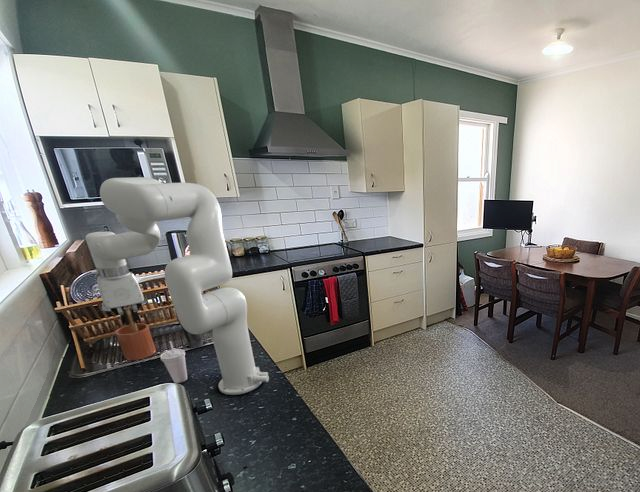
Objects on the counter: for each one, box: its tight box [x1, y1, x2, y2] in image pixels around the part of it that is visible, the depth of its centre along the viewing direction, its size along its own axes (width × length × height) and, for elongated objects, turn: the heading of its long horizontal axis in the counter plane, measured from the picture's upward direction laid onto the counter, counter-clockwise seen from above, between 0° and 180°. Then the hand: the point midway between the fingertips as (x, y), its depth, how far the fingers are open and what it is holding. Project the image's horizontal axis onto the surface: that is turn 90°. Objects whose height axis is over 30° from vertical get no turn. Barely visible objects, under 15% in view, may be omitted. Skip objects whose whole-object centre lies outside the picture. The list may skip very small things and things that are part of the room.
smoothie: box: [159, 340, 188, 384], centre depth 108 cm, size 6×6×14 cm
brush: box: [123, 306, 139, 333], centre depth 120 cm, size 5×5×16 cm
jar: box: [114, 322, 157, 361], centre depth 122 cm, size 9×9×10 cm
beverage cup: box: [176, 316, 204, 348], centre depth 127 cm, size 7×7×20 cm
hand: (132, 322), depth 119 cm, fingers closed on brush
